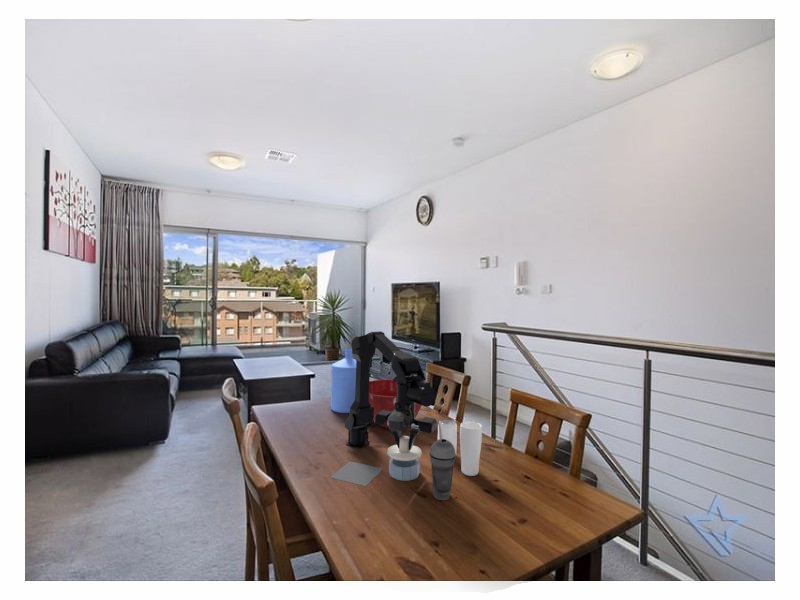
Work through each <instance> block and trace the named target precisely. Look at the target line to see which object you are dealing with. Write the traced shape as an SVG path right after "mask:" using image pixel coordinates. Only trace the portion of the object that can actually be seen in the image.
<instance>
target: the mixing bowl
mask: <svg viewBox="0 0 800 600" xmlns="http://www.w3.org/2000/svg"><path fill="white" fill-rule="evenodd" d="M393 379H394V378H393ZM393 379H389V378H387V379H376V380H375V379H374V380H370V381H369V402H370V404H371V406H372V407H374V417H375V415H376V414H377V413H379V412H380V411H382V410H385V411H391V412H392V411H393V410H394V405H395V402H397V382H395V381H393ZM422 407H423V406H422V405H420V404H417V403H416V404H415V413H416V417H415V419H416V418H417V416H418V414H419V412H420V410H421V408H422ZM373 422H374V418H373ZM377 425H379V426H380V427H382V428H387V427H386V426H387V425H388V421H386V422H385V423H384V424H383V425H380V424H377Z"/></svg>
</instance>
